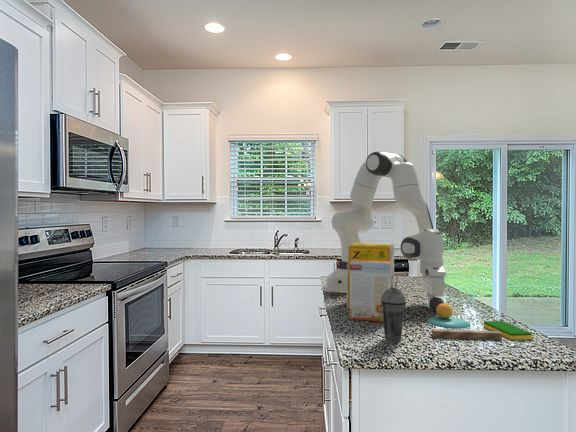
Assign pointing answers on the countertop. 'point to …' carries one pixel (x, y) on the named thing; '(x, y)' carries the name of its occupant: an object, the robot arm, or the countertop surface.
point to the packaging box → (370, 258)
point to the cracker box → (368, 288)
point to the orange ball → (444, 311)
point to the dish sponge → (508, 330)
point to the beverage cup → (393, 313)
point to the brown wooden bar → (466, 334)
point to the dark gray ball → (435, 303)
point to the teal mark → (448, 322)
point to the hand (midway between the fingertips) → (431, 303)
